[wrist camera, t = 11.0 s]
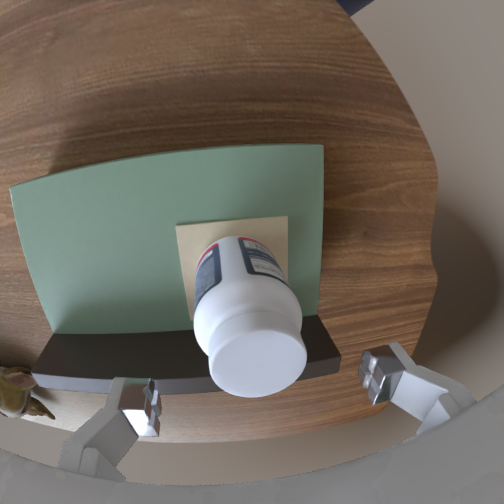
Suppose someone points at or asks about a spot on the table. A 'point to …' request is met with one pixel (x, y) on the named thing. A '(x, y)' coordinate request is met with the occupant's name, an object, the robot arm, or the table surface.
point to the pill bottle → (247, 318)
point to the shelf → (163, 257)
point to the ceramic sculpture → (19, 394)
